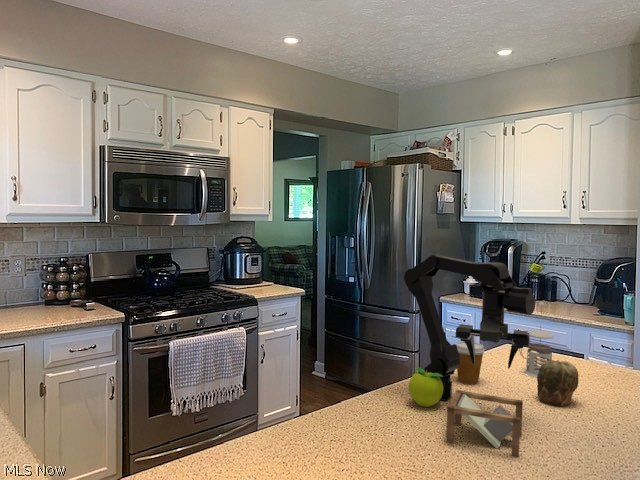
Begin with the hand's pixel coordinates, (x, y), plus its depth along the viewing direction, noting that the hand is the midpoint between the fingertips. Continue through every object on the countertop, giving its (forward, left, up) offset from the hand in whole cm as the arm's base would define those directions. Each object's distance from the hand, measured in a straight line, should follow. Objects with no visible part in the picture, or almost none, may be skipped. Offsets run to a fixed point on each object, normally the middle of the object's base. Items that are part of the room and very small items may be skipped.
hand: (491, 365), depth 137 cm
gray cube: (+2, -17, -10) cm, 20 cm away
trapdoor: (-1, -17, -9) cm, 20 cm away
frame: (+1, -17, -13) cm, 22 cm away
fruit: (-17, -3, -13) cm, 22 cm away
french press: (+11, +43, -13) cm, 46 cm away
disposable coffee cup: (-9, +24, -13) cm, 29 cm away
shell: (+17, +18, -13) cm, 28 cm away
